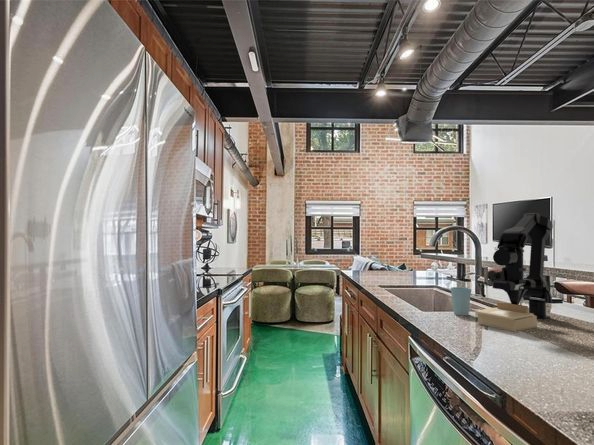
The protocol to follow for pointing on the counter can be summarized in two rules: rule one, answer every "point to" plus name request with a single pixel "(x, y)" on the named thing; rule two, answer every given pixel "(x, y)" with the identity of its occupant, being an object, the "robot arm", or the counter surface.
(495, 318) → the box
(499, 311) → the lid
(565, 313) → the counter surface
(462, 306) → the cup
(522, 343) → the counter surface
